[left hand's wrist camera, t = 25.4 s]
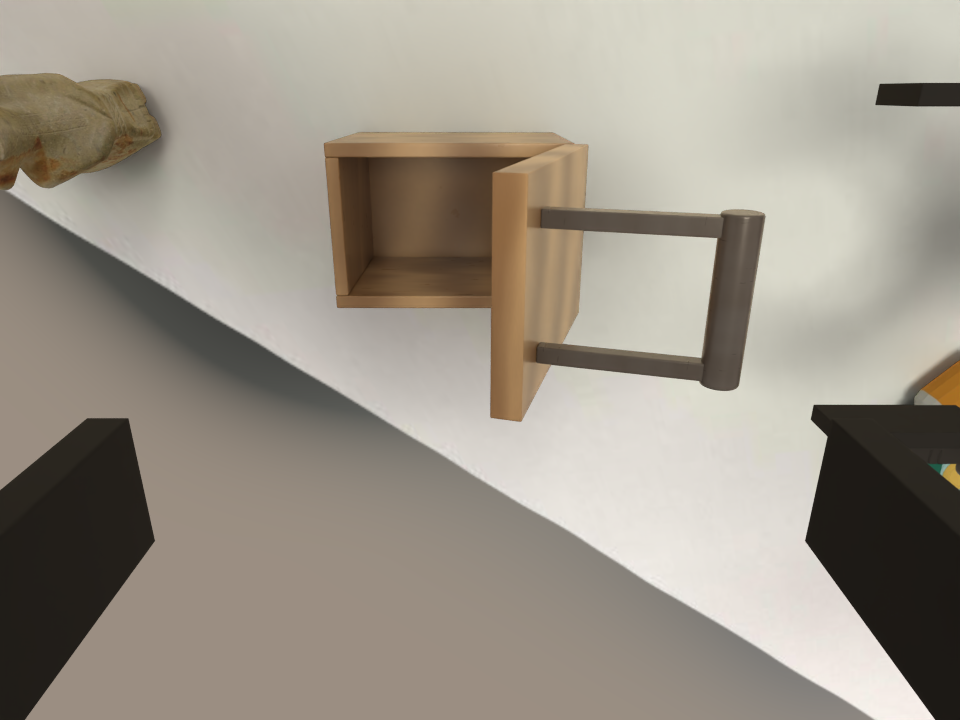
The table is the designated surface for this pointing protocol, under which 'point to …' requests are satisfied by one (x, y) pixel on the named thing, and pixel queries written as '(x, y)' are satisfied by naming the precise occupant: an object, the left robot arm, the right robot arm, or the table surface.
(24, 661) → the left robot arm
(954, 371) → the spray gun
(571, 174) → the lid
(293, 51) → the table surface
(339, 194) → the chest
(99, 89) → the sculpture
